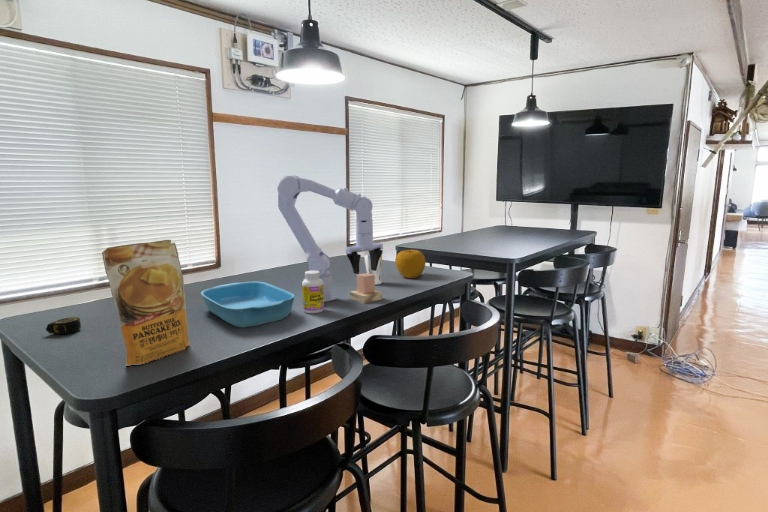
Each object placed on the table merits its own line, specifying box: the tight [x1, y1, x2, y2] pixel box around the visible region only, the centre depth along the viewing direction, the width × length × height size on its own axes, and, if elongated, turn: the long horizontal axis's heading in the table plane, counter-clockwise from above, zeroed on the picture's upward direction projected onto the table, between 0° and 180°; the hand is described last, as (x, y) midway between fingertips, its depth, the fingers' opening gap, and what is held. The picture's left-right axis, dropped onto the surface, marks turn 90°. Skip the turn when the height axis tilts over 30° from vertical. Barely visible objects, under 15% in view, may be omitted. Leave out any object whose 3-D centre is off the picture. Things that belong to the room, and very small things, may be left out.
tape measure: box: [45, 316, 82, 335], centre depth 130 cm, size 7×7×4 cm
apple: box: [394, 249, 427, 279], centre depth 192 cm, size 13×13×11 cm
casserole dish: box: [200, 280, 295, 328], centre depth 144 cm, size 37×22×7 cm, turn 39°
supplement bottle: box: [301, 270, 325, 314], centre depth 145 cm, size 7×7×13 cm
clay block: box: [356, 272, 376, 294], centre depth 159 cm, size 4×4×6 cm
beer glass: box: [363, 249, 383, 286], centre depth 180 cm, size 7×7×15 cm
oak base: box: [349, 289, 383, 304], centre depth 159 cm, size 8×8×3 cm
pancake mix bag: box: [101, 239, 191, 368], centre depth 109 cm, size 7×19×28 cm, turn 146°
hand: (365, 271), depth 158 cm, fingers open, 7 cm apart
